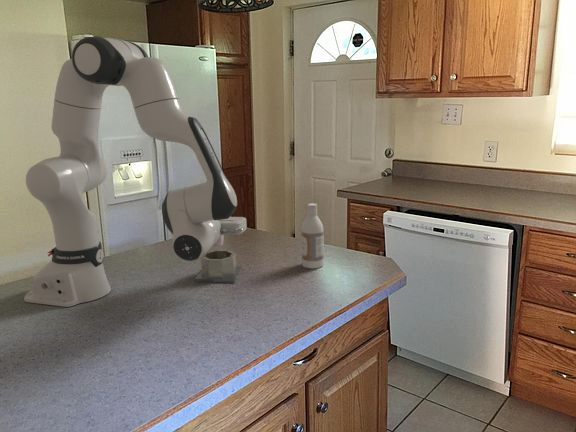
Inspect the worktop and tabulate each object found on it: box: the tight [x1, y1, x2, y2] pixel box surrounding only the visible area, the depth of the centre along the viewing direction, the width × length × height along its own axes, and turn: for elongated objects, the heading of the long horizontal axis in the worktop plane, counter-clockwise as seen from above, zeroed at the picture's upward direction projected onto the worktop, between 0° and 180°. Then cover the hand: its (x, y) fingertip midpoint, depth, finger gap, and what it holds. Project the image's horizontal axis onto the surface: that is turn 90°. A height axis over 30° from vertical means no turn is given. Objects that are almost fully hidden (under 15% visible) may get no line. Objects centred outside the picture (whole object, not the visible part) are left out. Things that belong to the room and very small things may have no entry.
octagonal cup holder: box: [194, 249, 244, 284], centre depth 151 cm, size 12×12×6 cm
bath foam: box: [301, 202, 325, 270], centre depth 156 cm, size 7×7×20 cm
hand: (216, 218), depth 148 cm, fingers closed on smoothie, 6 cm apart
